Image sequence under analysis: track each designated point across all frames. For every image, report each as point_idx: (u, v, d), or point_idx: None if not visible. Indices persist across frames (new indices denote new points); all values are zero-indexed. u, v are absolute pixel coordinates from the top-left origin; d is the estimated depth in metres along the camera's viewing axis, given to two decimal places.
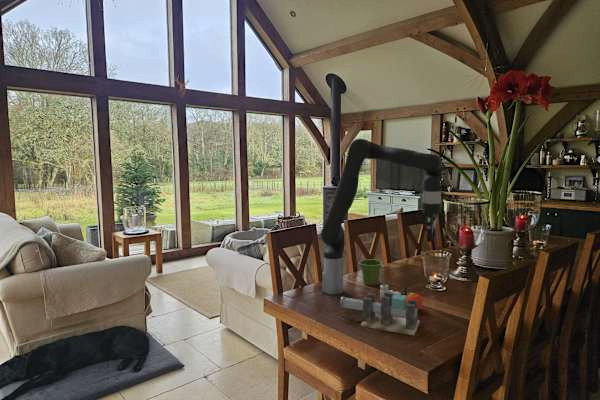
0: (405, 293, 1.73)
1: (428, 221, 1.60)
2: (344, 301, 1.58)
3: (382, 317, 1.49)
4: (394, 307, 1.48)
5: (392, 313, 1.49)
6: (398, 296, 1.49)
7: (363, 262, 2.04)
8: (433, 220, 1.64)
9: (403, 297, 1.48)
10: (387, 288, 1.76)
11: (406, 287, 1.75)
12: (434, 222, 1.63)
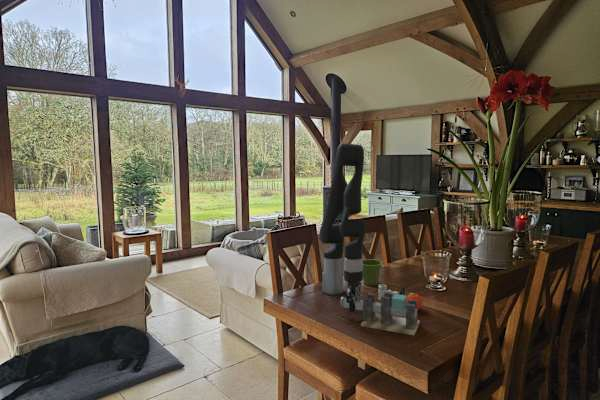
0: (403, 292, 1.74)
1: (348, 295, 1.52)
2: (344, 301, 1.58)
3: (382, 317, 1.49)
4: (394, 307, 1.48)
5: (392, 313, 1.49)
6: (398, 296, 1.49)
7: (363, 262, 2.04)
8: None
9: (403, 297, 1.48)
10: (385, 288, 1.77)
11: None
12: (355, 292, 1.54)
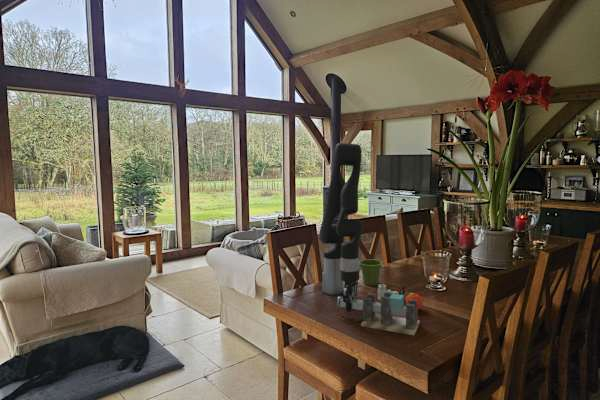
0: (403, 292, 1.74)
1: (344, 294, 1.52)
2: (341, 300, 1.58)
3: (382, 317, 1.49)
4: (391, 307, 1.48)
5: None
6: (396, 296, 1.50)
7: (363, 262, 2.04)
8: None
9: (400, 297, 1.49)
10: (385, 288, 1.77)
11: None
12: (352, 292, 1.55)
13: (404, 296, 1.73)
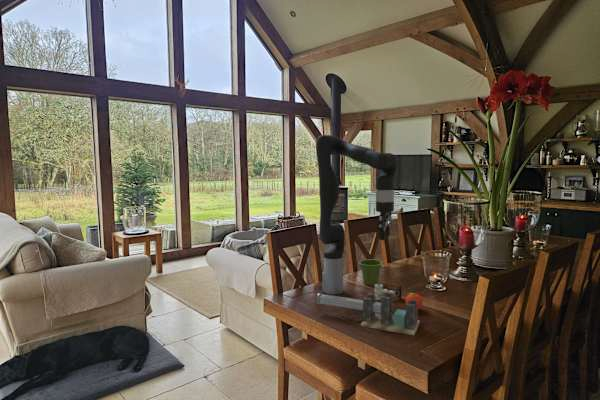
0: (400, 291, 1.75)
1: (380, 219, 1.60)
2: (320, 297, 1.62)
3: (382, 317, 1.49)
4: (395, 316, 1.48)
5: None
6: None
7: (363, 262, 2.04)
8: None
9: (405, 323, 1.49)
10: (382, 287, 1.78)
11: None
12: (386, 221, 1.63)
13: None
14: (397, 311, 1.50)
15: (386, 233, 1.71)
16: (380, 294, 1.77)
